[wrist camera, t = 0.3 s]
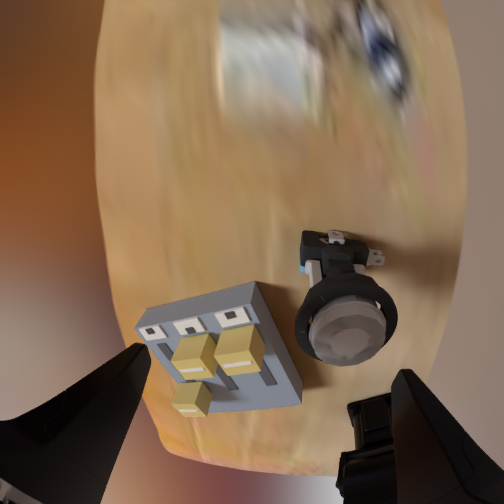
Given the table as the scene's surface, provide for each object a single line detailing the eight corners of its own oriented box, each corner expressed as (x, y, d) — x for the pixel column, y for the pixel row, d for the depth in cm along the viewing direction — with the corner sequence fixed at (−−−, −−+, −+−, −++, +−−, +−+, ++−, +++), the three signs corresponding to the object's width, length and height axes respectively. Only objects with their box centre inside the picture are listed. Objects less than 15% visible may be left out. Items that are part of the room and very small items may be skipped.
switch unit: (302, 382, 29) (301, 406, 26) (210, 393, 32) (204, 415, 29) (255, 281, 24) (249, 306, 21) (146, 308, 27) (132, 330, 24)
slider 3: (265, 345, 23) (261, 372, 20) (233, 350, 23) (227, 376, 21) (254, 324, 22) (248, 351, 19) (221, 330, 22) (213, 356, 20)
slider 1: (221, 352, 24) (213, 378, 21) (194, 356, 24) (185, 380, 22) (208, 333, 23) (199, 358, 20) (180, 338, 24) (169, 362, 21)
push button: (386, 221, 20) (441, 302, 11) (371, 281, 22) (402, 376, 13) (299, 211, 20) (303, 292, 12) (292, 274, 23) (287, 373, 14)
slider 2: (212, 395, 27) (206, 417, 25) (190, 396, 28) (183, 417, 25) (201, 381, 26) (194, 404, 24) (179, 383, 27) (170, 404, 24)
